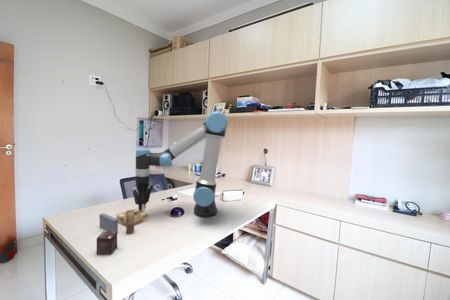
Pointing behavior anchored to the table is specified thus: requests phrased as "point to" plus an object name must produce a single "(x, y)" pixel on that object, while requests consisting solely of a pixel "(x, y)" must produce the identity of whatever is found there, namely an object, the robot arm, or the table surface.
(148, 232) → the table surface
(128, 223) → the dowel
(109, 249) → the box
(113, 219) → the board wall
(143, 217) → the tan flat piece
